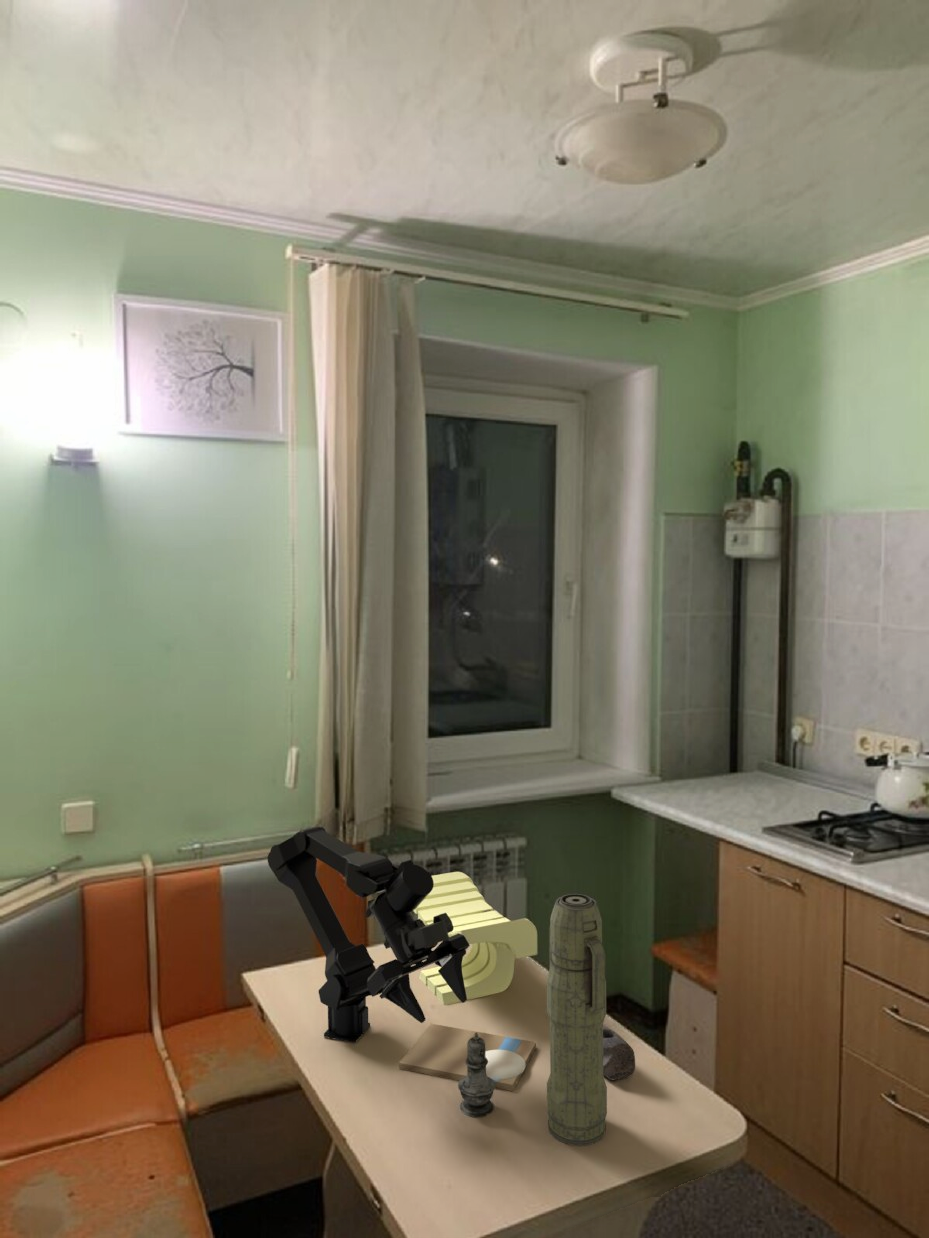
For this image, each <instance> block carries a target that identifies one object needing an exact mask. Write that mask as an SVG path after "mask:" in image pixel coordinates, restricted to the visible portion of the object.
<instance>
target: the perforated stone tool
mask: <svg viewBox="0 0 929 1238" xmlns="http://www.w3.org/2000/svg"><path fill="white" fill-rule="evenodd" d="M635 1070H636V1055H635V1052H634V1049H633V1047H632V1046H631V1045H630V1044H629V1043H628V1042H627V1041H626V1040H625V1039H624V1038H623V1037H622V1036H621V1035H620V1034H618V1033H617V1032H616V1031H615V1030H613V1029H611V1028H610V1027H608V1026H606V1025H605V1024H603V1076H604V1075H605V1076H606V1077H607V1079H609V1080H614V1081H616V1080H619V1079H621V1080H622V1079H624V1080H625V1079H628V1078H629V1077H630V1076H633V1074H634V1073H635Z"/></svg>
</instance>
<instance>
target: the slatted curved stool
mask: <svg viewBox="0 0 929 1238" xmlns="http://www.w3.org/2000/svg"><path fill="white" fill-rule="evenodd" d="M431 876H432V878H433V882H434V886H433V889H432V891H431V892H430V893H429V894H428V896H427V897H426V898H425V899H424V900H423V901H422V902H421V903H420V905H419V906H418V907H417V908H416V909H415V910H414V911H413V912H414V913H415V914H416V915H417V920H418V919H421V920H422V921H423V922H424V924H425V925H429V924H431V923H433V918H434V917H435V916H437V915H440V914H443V913H446V914H447V915H448V916H449V918H450V919H451V921H452V924H453V931H452V932H449V933H448V935H449V937H451V936H453V935H456V934H458V933H459V934H461V935H464V936H465V938H466V939H467V941H468V943H469V945H471V948H470V951H469V952H468V953H466V954H465V955H464V956H463V959H462V975H463V980H464V986H465V991H466V996H467V1000H466V1001H468V1000H473V999H477V998H482V997H486V996H491V995H495V994H498V993H499V994H500V993H503V992H504V991H506V990H507V989H508V988H509V987H510V984H511V982H512V980H513V977H514V972H515V971H514V970H515V961H516V960H515V959H522V958H527V957H532V956H537V955H538V931H537V927H536V925H534V923H533V922H532V921H530V919H528V918H520V919H514V920H510V919H508V918H507V917H504V916H503V915H502V914H501V913H499V912H498V911H497V910H495V909H494V908H493V907H492V906H491V905H490V904H488V903H487V901H486V900H485V897H484V896H483V895H482V894H481V893H480V890H479V889H478V887H477V886H476V885H475V884H474V881H473V880H472V878H471V877H470V876H468V875H467V874H466V873H464V872H461V871H453V872H447V873H440V874H436V875H431ZM441 942H442V941H441ZM441 942H440V943H441ZM440 968H441V967H440V966H436V967H431V968H428V969H423V970H420V974H419V976H418V978H419V980H420V981H421V982H422V983H423V984H424V985H425V986H427V988H428V989H429V990H430V991H431V993H432V994H433V995H434V996H436V998H437V999H438V1000H439V1001H440V1002H441V1003H442V1005H443V1006H446V1005H451V1004H455V1003H460V1002H461V1001H460V1000H459V999H458V997H457V996H456V995H455V994H454V992H453V991H452V989H451V988H450V987H449V985H448V984H447V983H446V981H445V980H444V979H443V977H442V976H441V974H440V973H439V972H438V970H439V969H440Z"/></svg>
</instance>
